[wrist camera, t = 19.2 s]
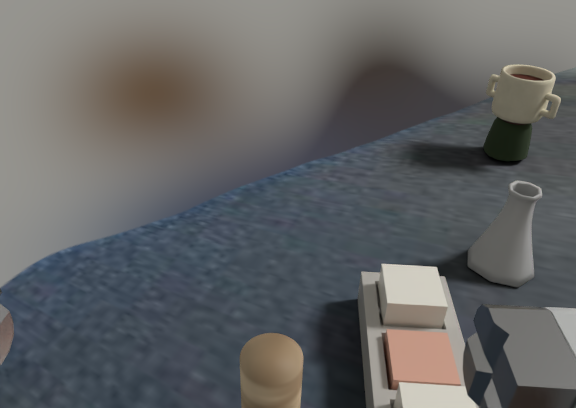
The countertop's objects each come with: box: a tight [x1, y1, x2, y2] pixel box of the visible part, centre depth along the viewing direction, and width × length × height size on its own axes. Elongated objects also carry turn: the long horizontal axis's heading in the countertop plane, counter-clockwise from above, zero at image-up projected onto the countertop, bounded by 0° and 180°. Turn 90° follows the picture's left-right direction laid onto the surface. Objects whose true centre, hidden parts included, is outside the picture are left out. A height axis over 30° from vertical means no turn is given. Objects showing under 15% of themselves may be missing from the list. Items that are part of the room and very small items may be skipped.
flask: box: [468, 180, 542, 287], centre depth 54 cm, size 7×7×10 cm
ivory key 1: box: [378, 264, 448, 329], centre depth 45 cm, size 5×5×3 cm
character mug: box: [484, 65, 561, 161], centre depth 74 cm, size 11×7×13 cm, turn 37°
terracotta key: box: [383, 329, 461, 390], centre depth 41 cm, size 5×5×3 cm
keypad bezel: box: [358, 272, 479, 408], centre depth 42 cm, size 8×21×4 cm, turn 177°
